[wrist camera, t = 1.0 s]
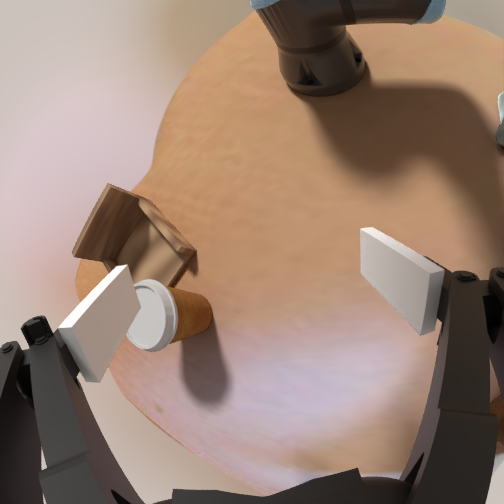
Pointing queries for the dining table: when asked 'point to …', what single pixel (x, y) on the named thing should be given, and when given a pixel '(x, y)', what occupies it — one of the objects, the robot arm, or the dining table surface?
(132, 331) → the disposable coffee cup
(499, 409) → the utensil holder
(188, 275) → the dining table surface
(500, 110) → the salad plate
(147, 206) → the cradle
